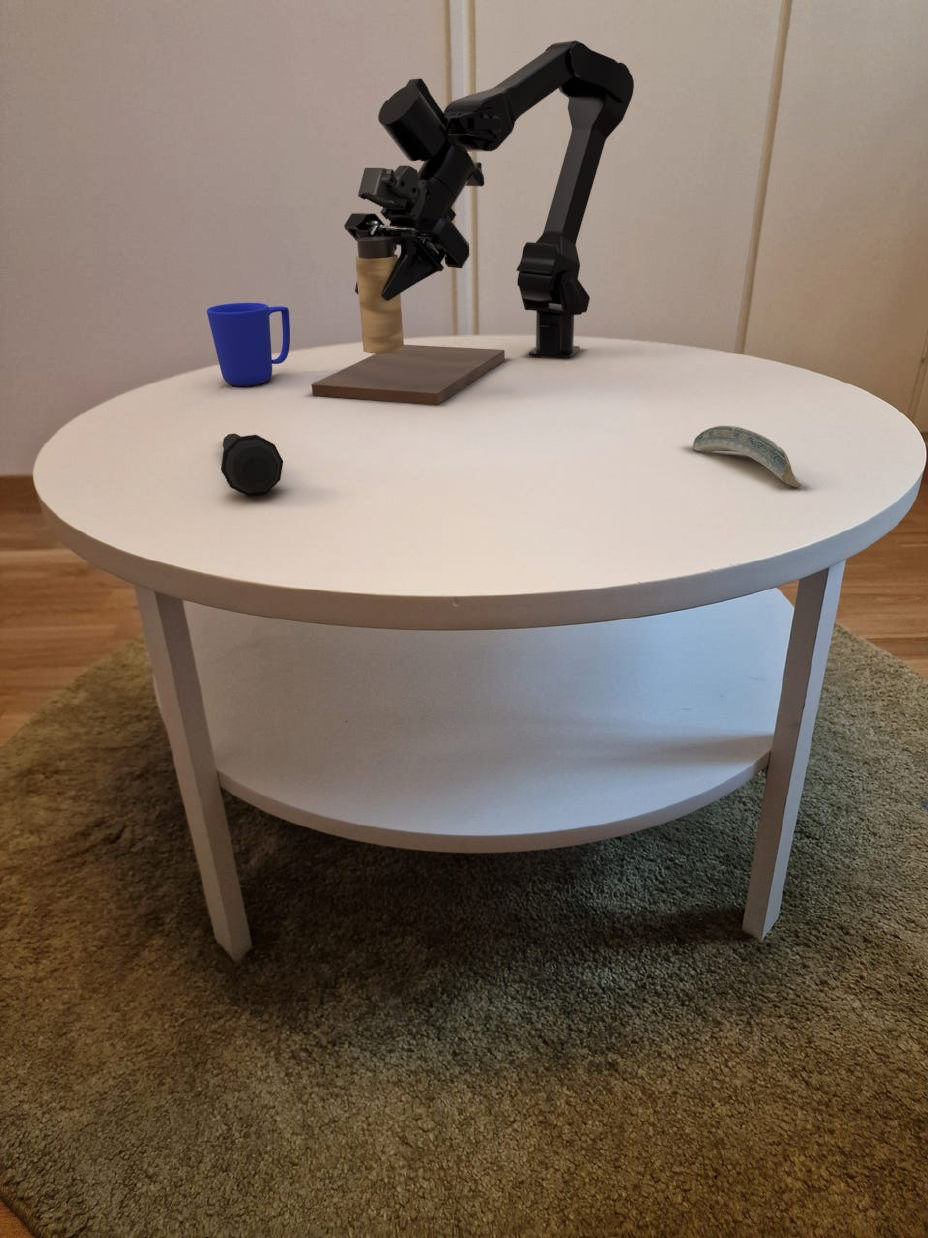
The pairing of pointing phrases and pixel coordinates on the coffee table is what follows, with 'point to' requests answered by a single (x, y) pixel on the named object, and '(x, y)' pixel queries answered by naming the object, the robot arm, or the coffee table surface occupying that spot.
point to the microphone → (251, 464)
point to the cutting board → (410, 374)
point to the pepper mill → (378, 296)
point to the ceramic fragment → (747, 449)
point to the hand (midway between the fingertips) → (370, 296)
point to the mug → (246, 341)
